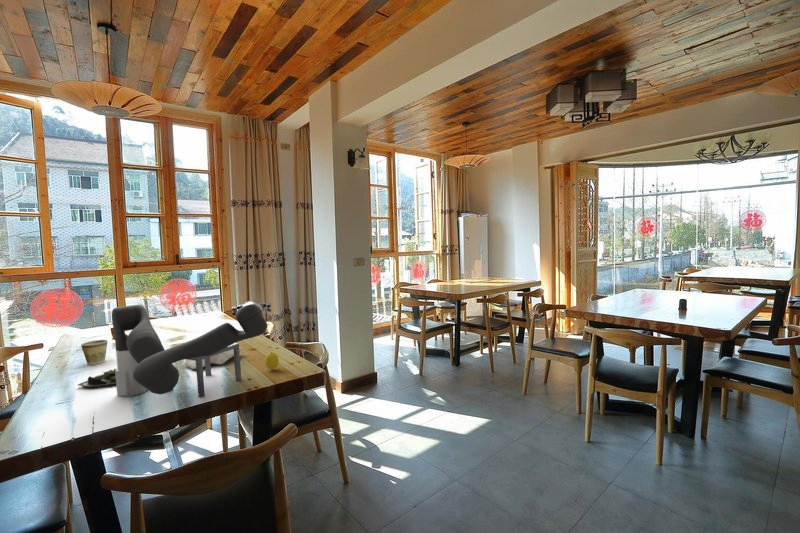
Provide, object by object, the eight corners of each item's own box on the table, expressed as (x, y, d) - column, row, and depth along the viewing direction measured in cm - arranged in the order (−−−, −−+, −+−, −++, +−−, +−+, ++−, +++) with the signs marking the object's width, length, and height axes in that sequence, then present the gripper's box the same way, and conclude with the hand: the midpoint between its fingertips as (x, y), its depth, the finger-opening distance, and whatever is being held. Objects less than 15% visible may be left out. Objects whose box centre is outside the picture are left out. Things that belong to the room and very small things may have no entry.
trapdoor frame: (201, 397, 138) (198, 357, 137) (167, 391, 146) (163, 352, 144) (241, 379, 155) (238, 343, 154) (208, 374, 163) (206, 339, 161)
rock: (177, 354, 175) (229, 336, 194) (180, 369, 177) (232, 349, 196) (195, 364, 163) (249, 342, 182) (198, 379, 165) (252, 356, 183)
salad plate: (98, 375, 168) (97, 365, 167) (144, 370, 172) (143, 360, 172) (73, 392, 149) (72, 380, 149) (125, 386, 154) (124, 375, 153)
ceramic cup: (105, 363, 183) (103, 343, 183) (79, 367, 180) (77, 346, 179) (114, 356, 195) (112, 337, 195) (90, 359, 192) (88, 340, 191)
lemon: (274, 367, 169) (273, 349, 168) (281, 369, 165) (280, 351, 165) (263, 371, 164) (261, 352, 164) (270, 373, 161) (269, 354, 160)
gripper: (231, 325, 135) (233, 317, 150) (273, 320, 140) (271, 313, 155) (229, 304, 134) (231, 298, 149) (272, 300, 139) (270, 295, 154)
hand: (252, 306), depth 152 cm, fingers open, 8 cm apart
